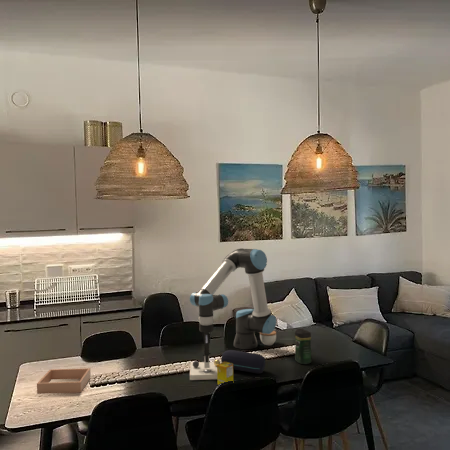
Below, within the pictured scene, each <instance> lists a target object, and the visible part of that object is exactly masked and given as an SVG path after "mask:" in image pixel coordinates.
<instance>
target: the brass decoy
mask: <svg viewBox="0 0 450 450" xmlns="http://www.w3.org/2000/svg"><path fill="white" fill-rule="evenodd" d="M213 362H214V365H215V366H217V364H220V362H221V361H220V360H219V359H215V360H214V361H213Z"/></svg>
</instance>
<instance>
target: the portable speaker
mask: <svg viewBox="0 0 450 450" xmlns="http://www.w3.org/2000/svg"><path fill="white" fill-rule="evenodd" d="M220 359H221V361H220V362H228V363H232V364H233V370H235V371H240V372H241V371H242V372H247V373H252V374H257V375H258V374H262V373H263V372H264V371H265V368H266V358H265V357H264V356H263V355H261V354H260V353H253V352H249V351H247V352H246V351H241V350H234V349H228V350H225V351H224V352H223V353H222V355H221V358H220Z"/></svg>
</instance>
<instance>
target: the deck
mask: <svg viewBox="0 0 450 450" xmlns="http://www.w3.org/2000/svg"><path fill="white" fill-rule="evenodd" d="M198 362H199V366H198V367H194V366H193V362H190V364H189V365H190V367H189V368H190V369H189V381H200V380H202V381H203V380H206V381H207V380H217V366H215V365H214V361H209V365H210V368H204V361H202V362H200V361H198ZM220 363H222V362H221V361H220ZM205 370H209V371H210V373H204V371H205Z"/></svg>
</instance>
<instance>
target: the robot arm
mask: <svg viewBox="0 0 450 450" xmlns="http://www.w3.org/2000/svg"><path fill="white" fill-rule="evenodd" d="M267 263H268V259H267V255H266V253H265V252H264V251H263V250H261V249H257V248H237V249H234V250H233V251H231V252H230V253H229V254H227V255H226V256H225V257H224V258H223V260H222V261H221V265H219V267H218V268H217V269H216V271H214V273H213V274H212V275H211V276H210V278H209V279H208V280H207V281H206V282H205V283H204V284H203V286H202V287H201V288H200V290H198V292H197V291H195V292H192V293H191V294H190V296H189V302H190V304H191V305H192V306H194V307H198V315H199V316H198V318H197V319H198V320H199V324H198V326H199V328H198V329H199V332H201V333H202V339H203V340H202V341H203V345H204V346H203V347H204V351H203V352H204V353H203V354H202V356H203V358H204V360H203V362H204V368H210V365H209V362H210V355H211V352H210V344H211V333H213V331H214V311H218V310H222V309H224V308H226V307H227V306H228V305H229V298H228V296H226V295H225V294H215V293H216V292H217V291H218V289H219V288H220V287H221V285H222V284H223V283H224V282H225V281H226V279H228V277H229V276H230V275H231V274H232V272H235V271H236V270H238V269H239V268H241V269H242V268H243V269H244V272H245V274H247V275H248V281H249V288H250V293H251V294H250V295H251V299H252V305H253V306H252V307H253V308H246V309H245V308H244V309H240V310H237V311H236V313H235V333H236V334H235V336H234V340H233V347H234V348H235V349H239V350H250V349H256V348H257V347H258V340H257V337H256V335H255V334H256V333H259V334H260V333H263V334H270V333H272V332H273V331H275V328H276V325H277V318H276V316H275V315H273V314H272V310H271V309H269V307H268V301H267V294H266V288H265V282H264V276H263V273H264V271H265V268H266V267H267Z"/></svg>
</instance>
